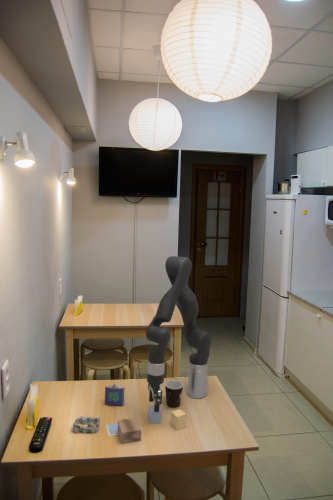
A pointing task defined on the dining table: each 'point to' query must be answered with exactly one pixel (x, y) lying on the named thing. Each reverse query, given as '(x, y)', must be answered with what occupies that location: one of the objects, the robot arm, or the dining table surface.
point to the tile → (112, 429)
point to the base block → (129, 430)
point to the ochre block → (178, 419)
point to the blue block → (154, 415)
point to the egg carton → (84, 421)
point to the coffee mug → (173, 393)
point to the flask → (114, 395)
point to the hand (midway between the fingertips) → (153, 406)
